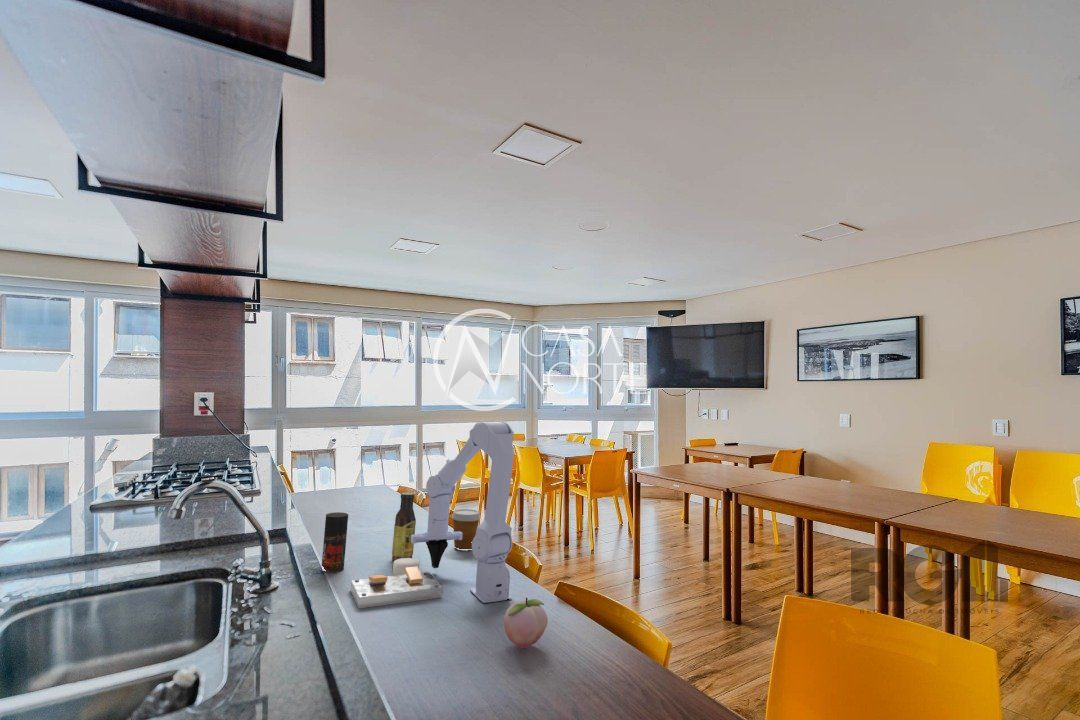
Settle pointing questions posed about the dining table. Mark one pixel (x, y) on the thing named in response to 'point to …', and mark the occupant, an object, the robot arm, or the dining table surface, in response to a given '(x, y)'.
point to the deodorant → (334, 542)
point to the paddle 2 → (413, 575)
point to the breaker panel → (394, 590)
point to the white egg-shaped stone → (404, 565)
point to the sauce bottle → (404, 528)
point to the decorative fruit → (525, 622)
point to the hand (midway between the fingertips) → (435, 567)
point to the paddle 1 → (378, 578)
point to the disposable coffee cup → (465, 526)
